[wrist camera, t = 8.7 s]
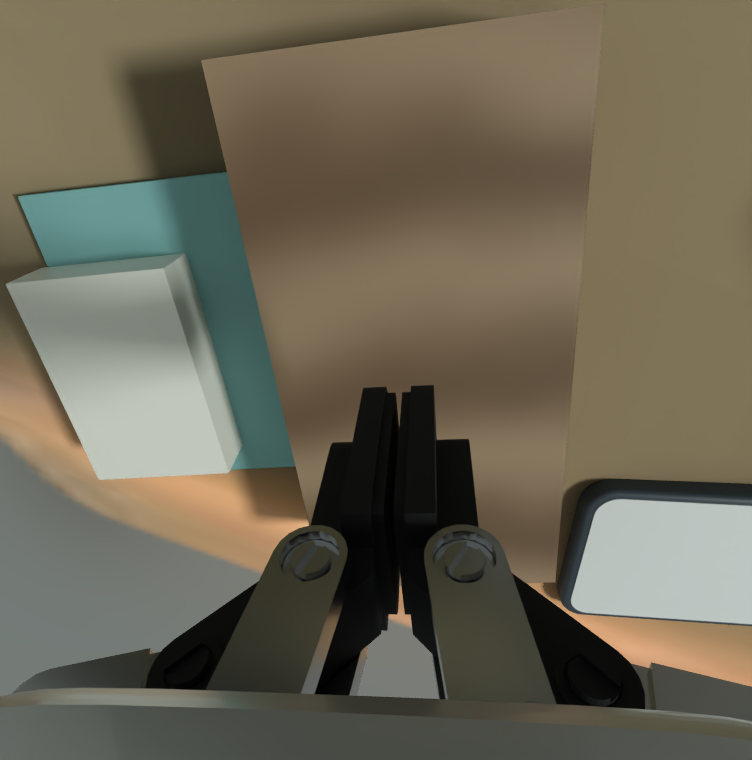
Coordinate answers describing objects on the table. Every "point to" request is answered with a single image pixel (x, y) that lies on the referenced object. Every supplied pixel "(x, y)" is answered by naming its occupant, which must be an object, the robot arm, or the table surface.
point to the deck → (424, 241)
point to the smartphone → (661, 552)
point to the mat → (209, 269)
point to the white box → (132, 365)
